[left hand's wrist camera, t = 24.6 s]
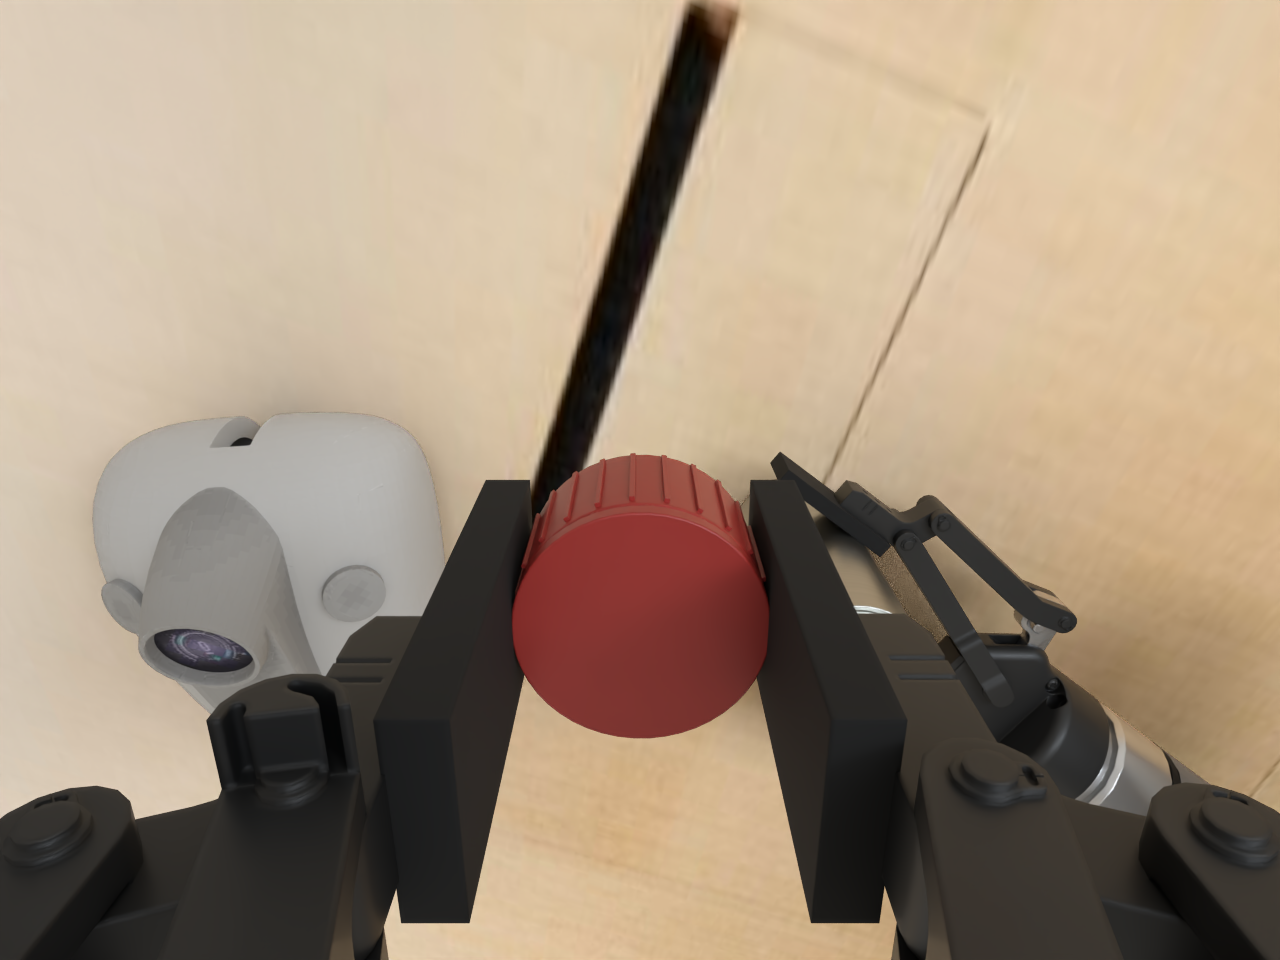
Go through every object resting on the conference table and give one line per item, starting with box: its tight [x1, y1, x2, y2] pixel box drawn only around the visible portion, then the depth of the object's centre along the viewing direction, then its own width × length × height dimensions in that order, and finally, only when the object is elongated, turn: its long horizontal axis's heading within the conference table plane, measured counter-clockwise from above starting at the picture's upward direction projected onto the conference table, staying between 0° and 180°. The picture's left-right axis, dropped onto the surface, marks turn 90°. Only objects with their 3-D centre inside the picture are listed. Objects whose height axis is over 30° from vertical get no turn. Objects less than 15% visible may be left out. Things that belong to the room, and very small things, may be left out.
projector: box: [93, 412, 445, 714], centre depth 42 cm, size 22×23×15 cm
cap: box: [512, 453, 769, 738], centre depth 14 cm, size 4×4×2 cm
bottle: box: [741, 479, 908, 616], centre depth 38 cm, size 6×6×21 cm
